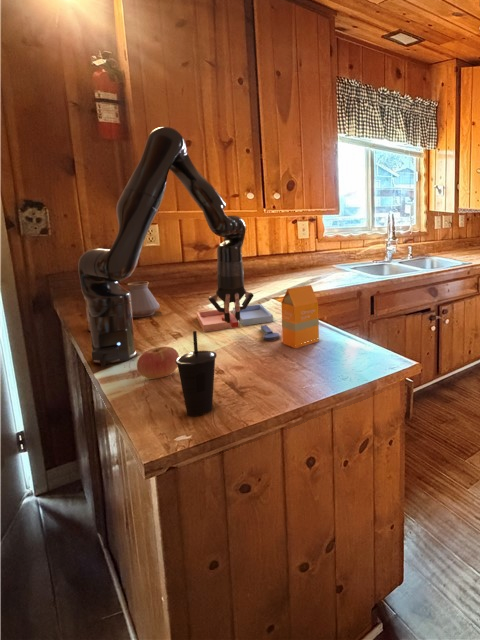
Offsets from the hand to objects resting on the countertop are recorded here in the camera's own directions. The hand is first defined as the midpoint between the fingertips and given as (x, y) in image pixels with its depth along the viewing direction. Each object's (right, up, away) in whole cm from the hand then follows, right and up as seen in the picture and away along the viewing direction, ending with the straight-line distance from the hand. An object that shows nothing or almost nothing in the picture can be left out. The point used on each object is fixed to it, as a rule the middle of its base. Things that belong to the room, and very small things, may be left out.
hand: (232, 321), depth 142 cm
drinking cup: (+23, -14, -45) cm, 53 cm away
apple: (0, -11, -29) cm, 31 cm away
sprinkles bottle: (-50, -3, +2) cm, 50 cm away
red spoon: (0, 0, 0) cm, 0 cm away
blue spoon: (+9, -6, +5) cm, 12 cm away
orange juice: (+24, -7, 0) cm, 25 cm away
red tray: (-17, -3, +15) cm, 23 cm away
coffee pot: (-53, -1, +16) cm, 56 cm away
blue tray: (-8, -2, +23) cm, 25 cm away
